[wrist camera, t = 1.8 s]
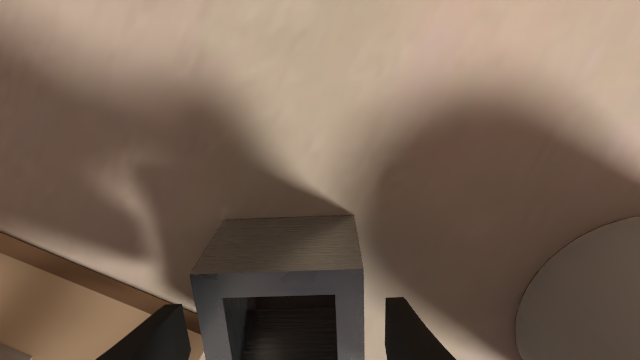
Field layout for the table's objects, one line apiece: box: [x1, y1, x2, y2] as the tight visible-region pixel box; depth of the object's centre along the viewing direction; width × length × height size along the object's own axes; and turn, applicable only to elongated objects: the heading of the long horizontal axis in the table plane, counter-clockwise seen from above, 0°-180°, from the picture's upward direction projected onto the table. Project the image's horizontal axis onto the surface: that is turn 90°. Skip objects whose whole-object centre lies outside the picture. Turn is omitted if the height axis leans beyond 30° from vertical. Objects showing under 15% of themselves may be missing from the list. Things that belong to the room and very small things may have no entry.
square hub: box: [190, 215, 364, 360], centre depth 14 cm, size 5×5×4 cm
